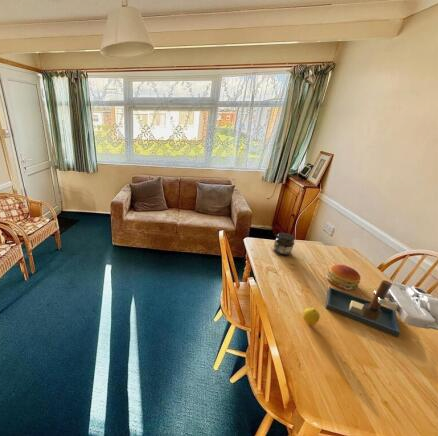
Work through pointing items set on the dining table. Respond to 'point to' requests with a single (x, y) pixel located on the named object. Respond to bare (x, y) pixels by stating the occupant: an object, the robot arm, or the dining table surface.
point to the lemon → (311, 316)
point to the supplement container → (284, 244)
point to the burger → (343, 277)
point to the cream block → (356, 307)
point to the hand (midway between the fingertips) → (376, 296)
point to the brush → (376, 302)
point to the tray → (340, 305)
